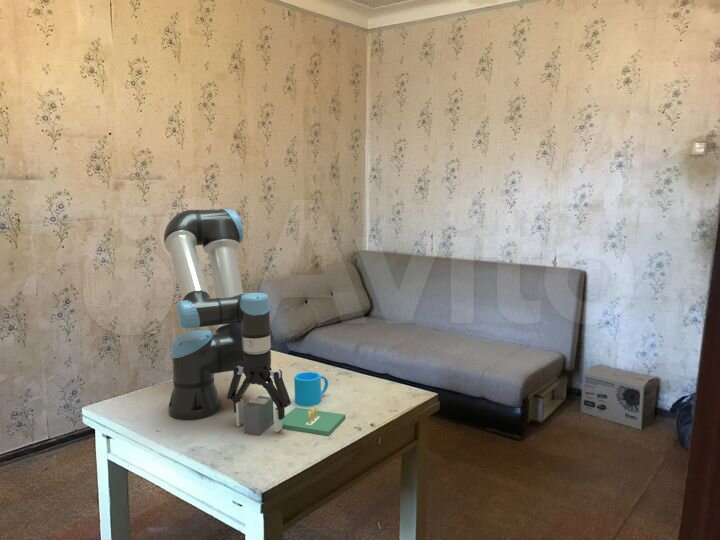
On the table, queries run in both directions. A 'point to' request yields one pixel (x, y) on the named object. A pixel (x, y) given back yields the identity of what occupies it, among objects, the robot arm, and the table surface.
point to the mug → (309, 388)
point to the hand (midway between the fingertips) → (259, 426)
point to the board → (312, 421)
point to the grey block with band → (258, 415)
